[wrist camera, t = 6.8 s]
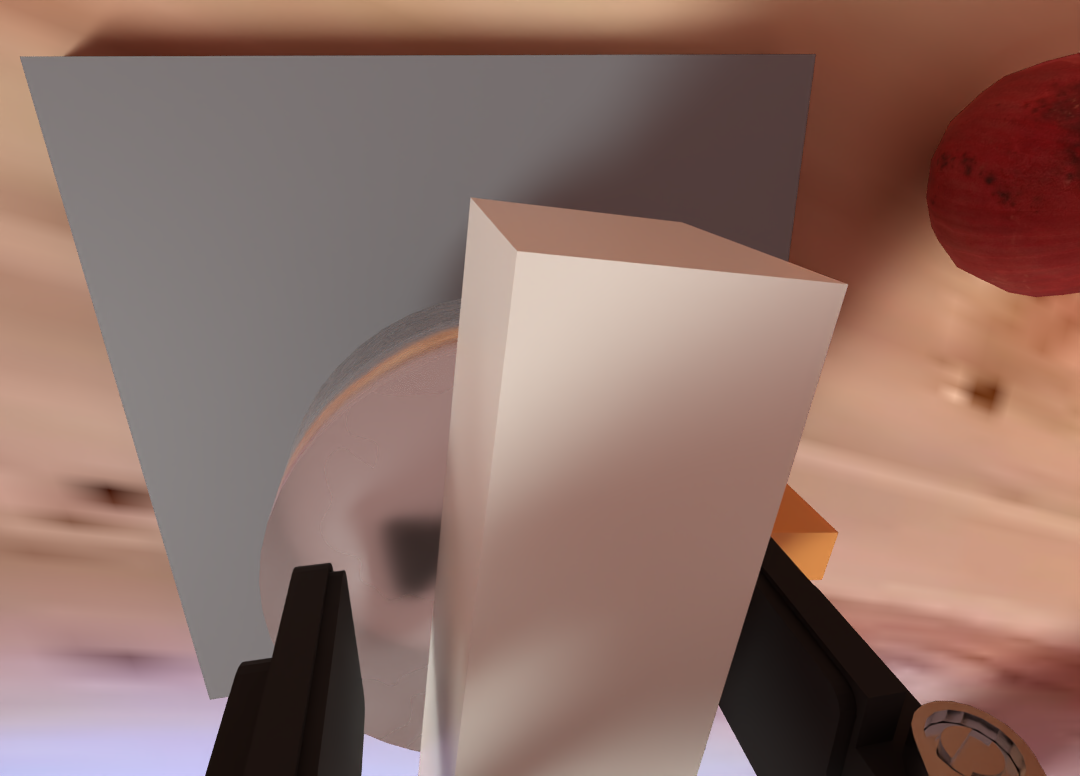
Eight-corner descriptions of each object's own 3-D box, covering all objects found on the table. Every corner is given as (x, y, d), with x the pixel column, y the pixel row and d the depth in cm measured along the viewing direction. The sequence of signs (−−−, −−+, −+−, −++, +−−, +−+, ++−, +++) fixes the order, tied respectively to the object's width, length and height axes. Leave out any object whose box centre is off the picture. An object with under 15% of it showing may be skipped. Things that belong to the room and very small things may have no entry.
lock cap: (848, 227, 14) (1237, 323, 7) (709, 692, 18) (873, 997, 12) (284, 158, 11) (128, 212, 5) (290, 719, 16) (215, 1126, 9)
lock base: (722, 585, 25) (804, 703, 20) (221, 663, 22) (168, 826, 17) (784, 59, 18) (933, 36, 13) (54, 62, 15) (-125, 33, 10)
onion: (829, 171, 19) (1088, 204, 12) (982, 17, 18) (1360, -48, 11) (919, 298, 22) (1182, 390, 14) (1059, 167, 21) (1414, 193, 13)
